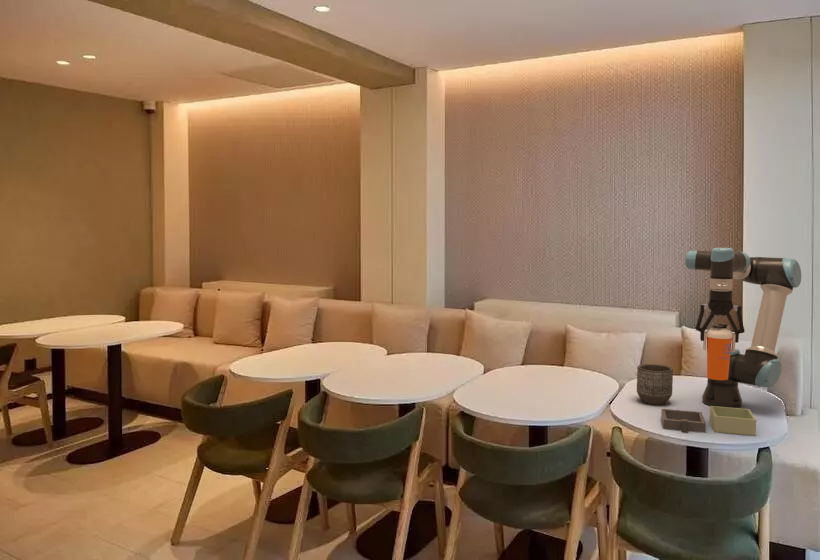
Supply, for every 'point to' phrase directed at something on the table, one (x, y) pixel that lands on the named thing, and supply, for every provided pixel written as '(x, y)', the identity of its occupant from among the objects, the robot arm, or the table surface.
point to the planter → (654, 383)
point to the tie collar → (683, 420)
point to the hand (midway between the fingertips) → (718, 350)
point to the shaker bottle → (718, 351)
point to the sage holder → (732, 421)
